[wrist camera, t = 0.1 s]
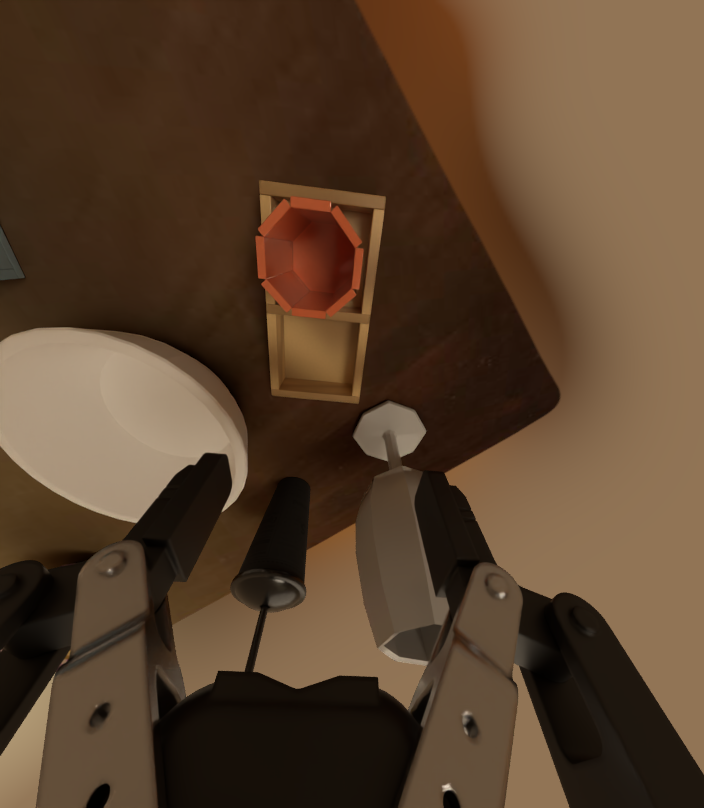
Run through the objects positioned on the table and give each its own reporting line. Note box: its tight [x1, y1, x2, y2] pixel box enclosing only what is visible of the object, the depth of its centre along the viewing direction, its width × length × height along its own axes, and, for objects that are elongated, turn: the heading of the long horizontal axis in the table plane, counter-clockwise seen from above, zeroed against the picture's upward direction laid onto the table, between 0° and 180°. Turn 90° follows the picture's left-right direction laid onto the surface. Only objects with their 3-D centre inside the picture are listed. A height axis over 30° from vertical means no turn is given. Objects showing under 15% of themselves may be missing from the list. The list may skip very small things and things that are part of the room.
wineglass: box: [352, 400, 449, 666], centre depth 24 cm, size 9×9×21 cm
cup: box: [255, 196, 364, 319], centre depth 19 cm, size 6×6×9 cm
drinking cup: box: [230, 477, 310, 672], centre depth 30 cm, size 8×8×20 cm
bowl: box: [0, 327, 248, 523], centre depth 28 cm, size 22×22×8 cm
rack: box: [259, 180, 386, 403], centre depth 24 cm, size 17×9×3 cm, turn 174°
